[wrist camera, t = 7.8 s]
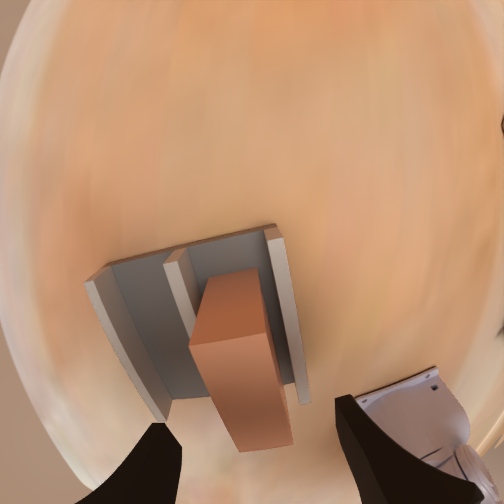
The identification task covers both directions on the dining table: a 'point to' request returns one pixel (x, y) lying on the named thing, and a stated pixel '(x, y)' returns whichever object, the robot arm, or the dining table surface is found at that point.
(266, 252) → the dish rack
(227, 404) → the terracotta tile
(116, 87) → the dining table surface
